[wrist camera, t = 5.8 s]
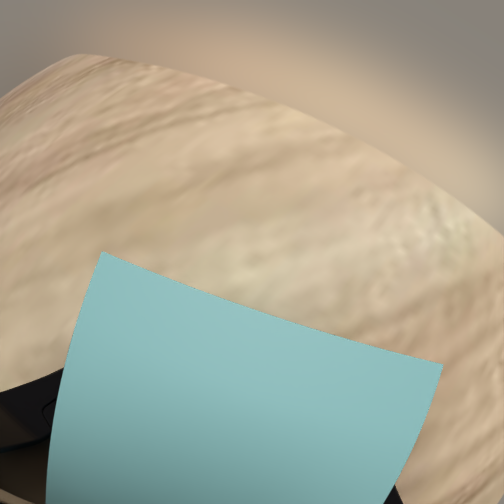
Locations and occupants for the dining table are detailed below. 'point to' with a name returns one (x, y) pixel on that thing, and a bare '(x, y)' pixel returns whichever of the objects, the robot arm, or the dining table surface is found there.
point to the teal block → (224, 403)
